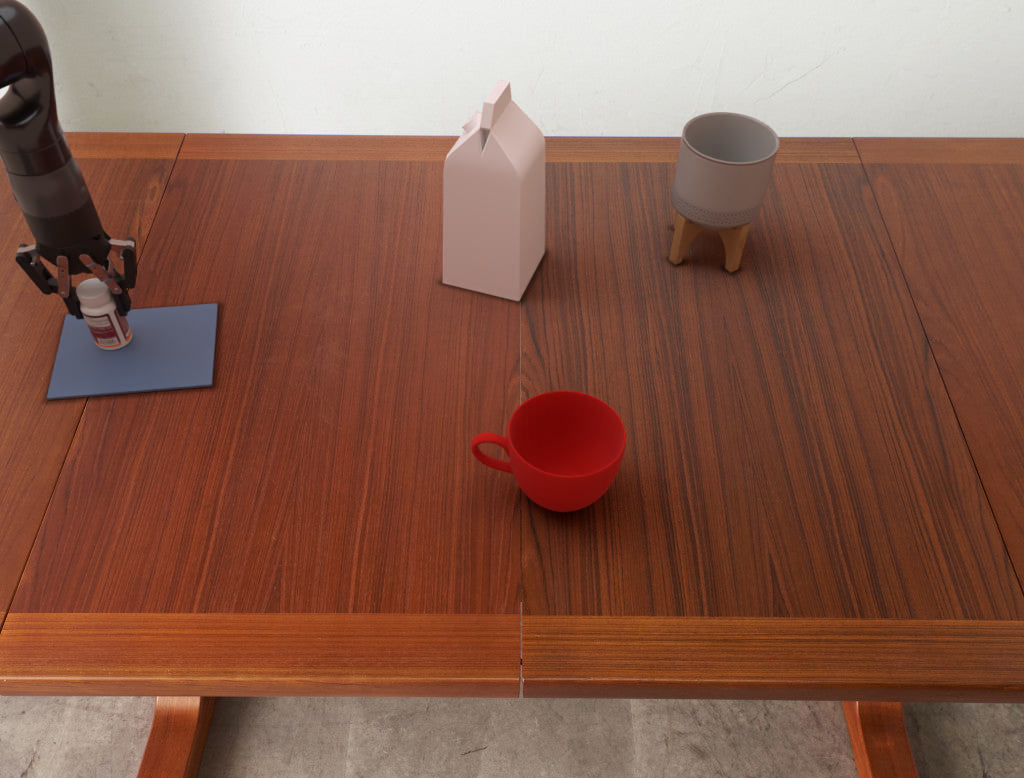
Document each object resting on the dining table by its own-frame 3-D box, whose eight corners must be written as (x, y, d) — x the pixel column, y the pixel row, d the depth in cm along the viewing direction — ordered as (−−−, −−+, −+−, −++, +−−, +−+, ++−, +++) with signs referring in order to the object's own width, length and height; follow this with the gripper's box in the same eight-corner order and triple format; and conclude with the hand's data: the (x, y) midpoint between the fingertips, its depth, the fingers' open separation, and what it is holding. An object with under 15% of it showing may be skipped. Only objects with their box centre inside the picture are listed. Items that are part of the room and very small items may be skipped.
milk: (518, 301, 126) (526, 124, 105) (442, 283, 128) (435, 106, 108) (544, 252, 133) (556, 78, 113) (471, 235, 135) (470, 61, 115)
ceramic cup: (475, 445, 109) (474, 385, 101) (613, 451, 109) (624, 392, 101) (468, 530, 101) (467, 473, 93) (618, 536, 101) (629, 480, 93)
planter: (766, 256, 134) (799, 145, 120) (701, 286, 129) (728, 173, 115) (707, 213, 140) (733, 102, 126) (644, 240, 136) (662, 128, 122)
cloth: (47, 400, 112) (46, 398, 111) (66, 316, 121) (65, 314, 121) (212, 386, 114) (211, 384, 114) (218, 305, 124) (217, 303, 123)
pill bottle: (116, 322, 120) (95, 270, 114) (140, 337, 119) (120, 285, 112) (87, 341, 118) (64, 289, 111) (111, 356, 116) (89, 305, 110)
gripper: (122, 173, 105) (163, 291, 118) (-7, 180, 103) (49, 299, 116) (115, 210, 100) (158, 328, 114) (-21, 218, 98) (39, 337, 112)
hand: (103, 313), depth 115 cm, fingers closed on pill bottle, 4 cm apart
